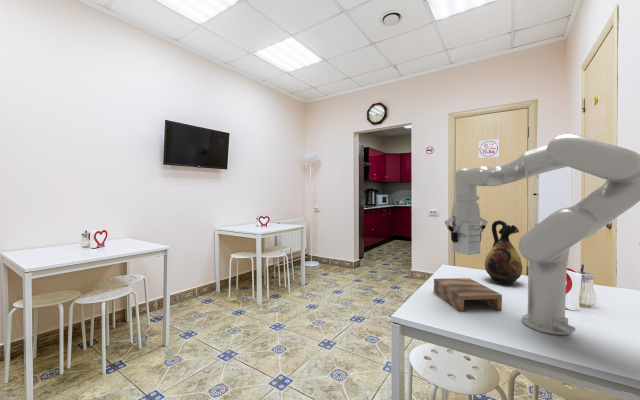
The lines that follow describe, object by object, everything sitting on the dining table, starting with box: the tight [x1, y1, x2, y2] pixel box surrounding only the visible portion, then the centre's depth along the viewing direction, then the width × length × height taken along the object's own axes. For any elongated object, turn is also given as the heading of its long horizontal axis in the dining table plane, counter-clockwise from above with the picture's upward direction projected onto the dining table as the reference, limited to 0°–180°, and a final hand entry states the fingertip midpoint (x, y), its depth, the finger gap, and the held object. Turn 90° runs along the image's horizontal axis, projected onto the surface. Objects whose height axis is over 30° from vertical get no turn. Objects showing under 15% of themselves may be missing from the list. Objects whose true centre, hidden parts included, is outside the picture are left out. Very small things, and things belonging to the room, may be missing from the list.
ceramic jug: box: [484, 219, 523, 286], centre depth 135 cm, size 17×15×30 cm
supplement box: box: [452, 222, 482, 256], centre depth 111 cm, size 7×7×13 cm
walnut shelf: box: [433, 277, 503, 313], centre depth 111 cm, size 20×16×6 cm
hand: (466, 241), depth 111 cm, fingers closed on supplement box, 9 cm apart
